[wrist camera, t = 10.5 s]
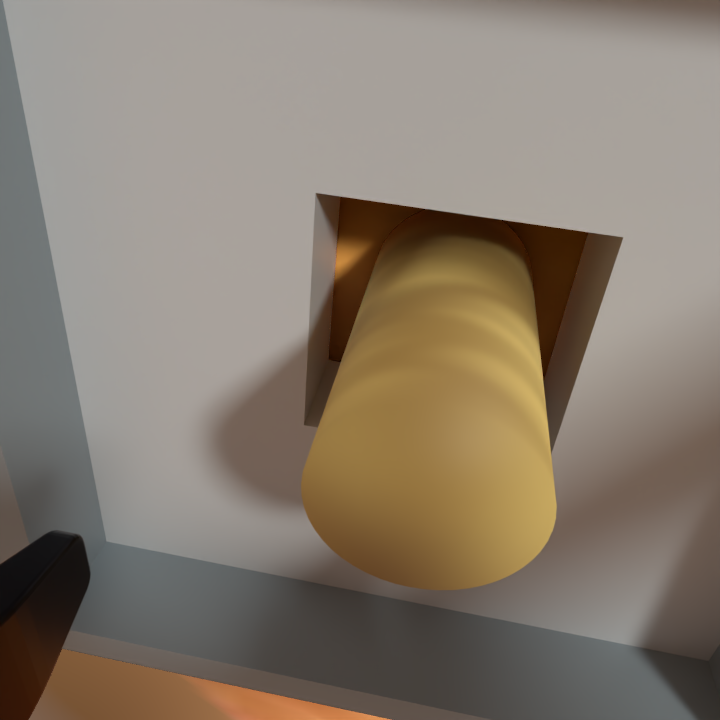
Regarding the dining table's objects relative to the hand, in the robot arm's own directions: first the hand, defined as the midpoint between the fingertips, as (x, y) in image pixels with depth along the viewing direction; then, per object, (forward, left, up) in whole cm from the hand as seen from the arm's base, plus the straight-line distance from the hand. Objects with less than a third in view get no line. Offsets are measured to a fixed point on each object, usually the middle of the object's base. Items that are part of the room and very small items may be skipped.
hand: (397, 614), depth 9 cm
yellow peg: (0, 0, -10) cm, 10 cm away
